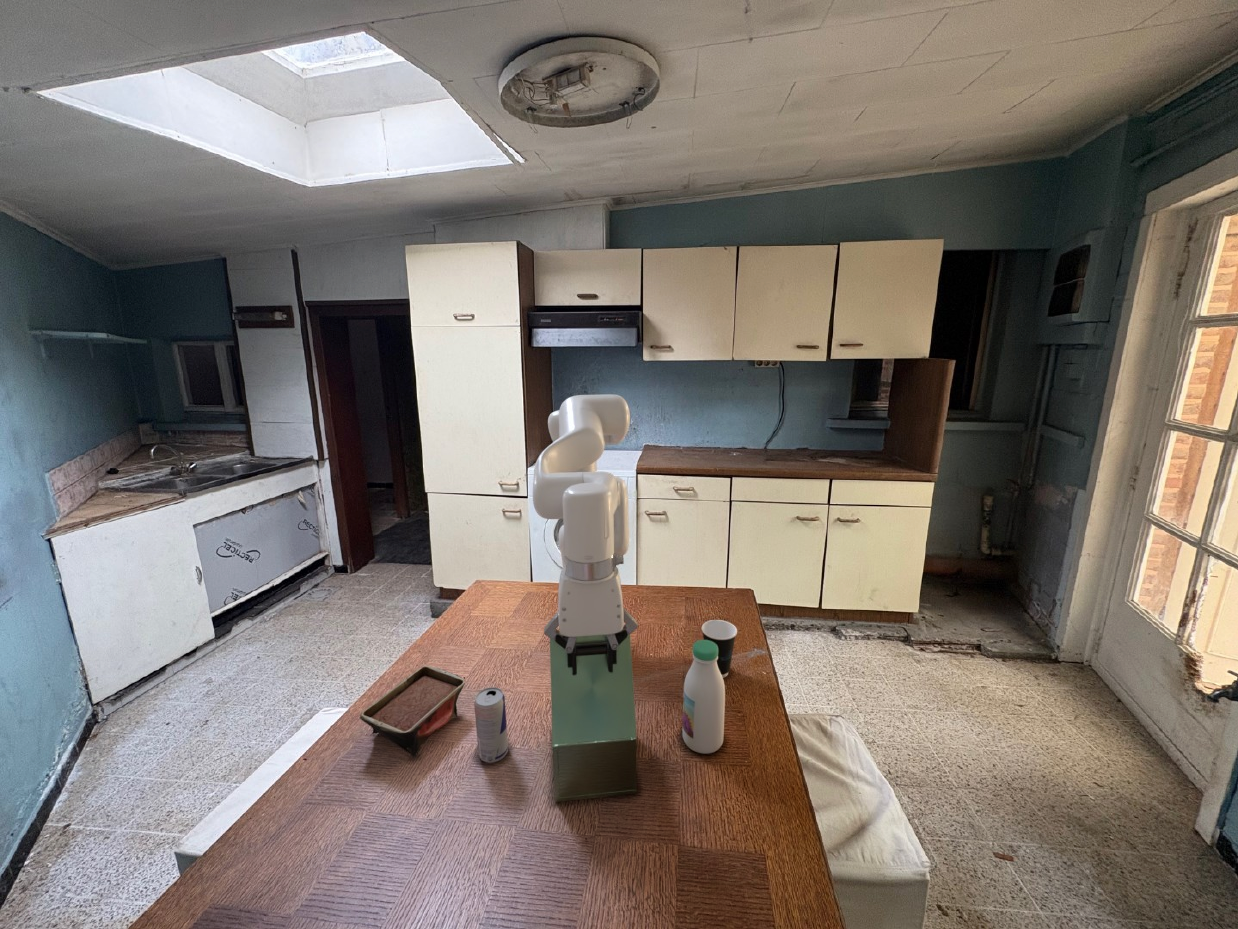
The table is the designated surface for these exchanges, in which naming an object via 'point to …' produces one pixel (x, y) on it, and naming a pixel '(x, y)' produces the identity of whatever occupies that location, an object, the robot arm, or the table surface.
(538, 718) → the table surface
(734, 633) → the dixie cup
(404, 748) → the rectangular footed planter
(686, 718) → the milk bottle
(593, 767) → the bin
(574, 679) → the bin lid
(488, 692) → the energy drink
